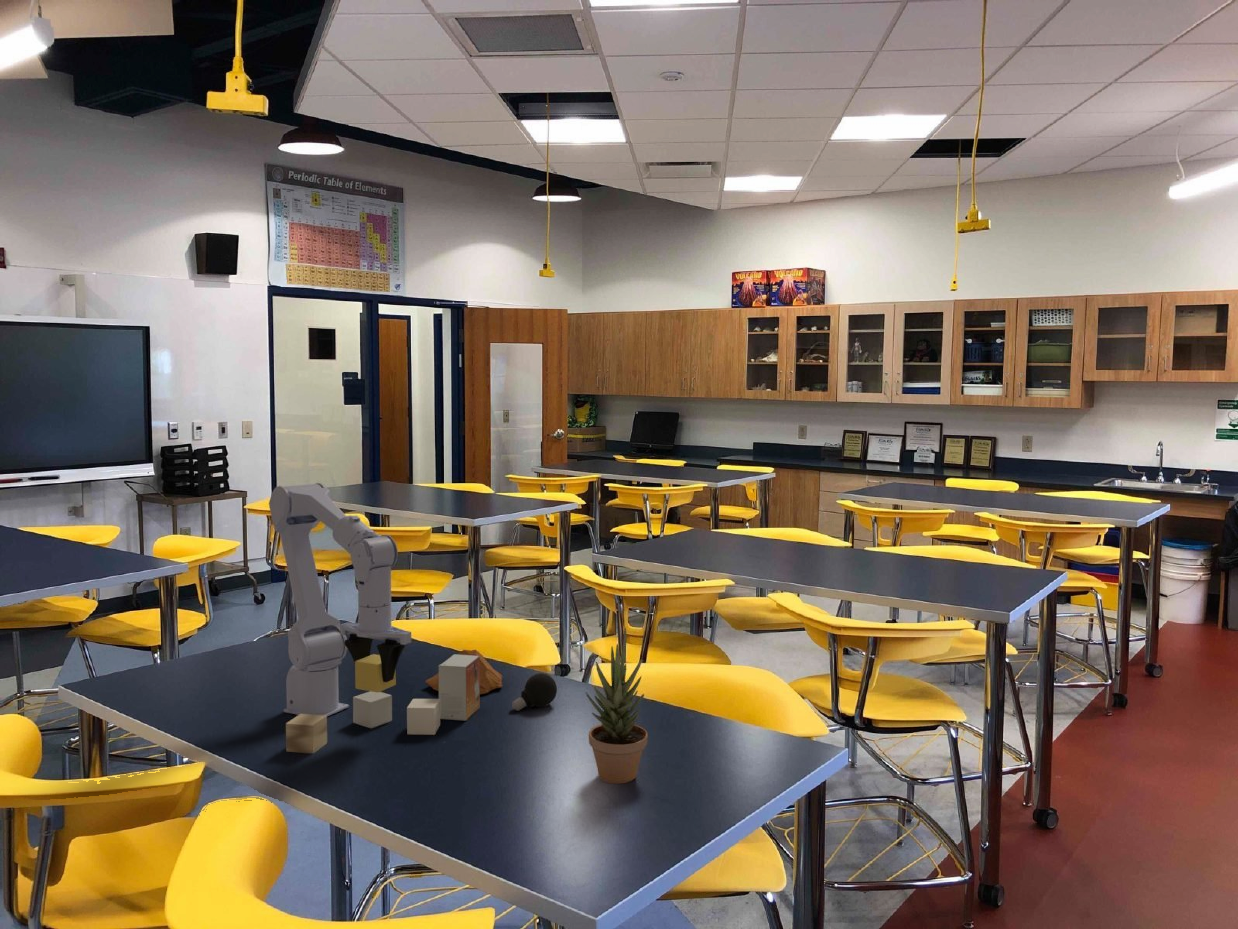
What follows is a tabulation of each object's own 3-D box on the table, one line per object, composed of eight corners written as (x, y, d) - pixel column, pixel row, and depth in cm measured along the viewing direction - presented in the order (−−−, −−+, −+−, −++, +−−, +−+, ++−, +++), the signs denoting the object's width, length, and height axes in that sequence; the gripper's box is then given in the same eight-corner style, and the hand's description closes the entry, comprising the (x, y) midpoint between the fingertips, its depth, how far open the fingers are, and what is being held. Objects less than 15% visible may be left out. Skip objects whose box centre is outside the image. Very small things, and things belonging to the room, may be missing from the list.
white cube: (407, 734, 172) (406, 707, 172) (413, 725, 177) (413, 698, 177) (434, 735, 172) (434, 708, 172) (440, 725, 177) (439, 699, 177)
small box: (466, 721, 179) (465, 667, 178) (438, 719, 180) (437, 665, 179) (480, 707, 187) (480, 655, 186) (453, 705, 188) (453, 653, 187)
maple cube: (286, 751, 164) (285, 723, 164) (300, 741, 169) (300, 713, 168) (313, 754, 163) (312, 725, 163) (327, 743, 168) (326, 715, 168)
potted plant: (627, 793, 148) (629, 638, 146) (577, 780, 153) (578, 629, 151) (659, 772, 157) (661, 624, 154) (610, 759, 162) (611, 616, 160)
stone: (513, 693, 204) (520, 657, 199) (469, 729, 192) (475, 691, 188) (461, 659, 210) (466, 624, 205) (414, 692, 198) (419, 655, 194)
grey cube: (353, 723, 178) (352, 697, 178) (374, 715, 182) (374, 690, 182) (371, 728, 175) (370, 702, 175) (392, 721, 179) (391, 695, 179)
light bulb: (500, 688, 186) (541, 662, 191) (506, 713, 189) (547, 686, 194) (518, 703, 181) (560, 676, 186) (525, 728, 184) (565, 700, 189)
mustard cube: (355, 688, 170) (355, 661, 170) (373, 680, 175) (373, 654, 174) (377, 692, 168) (377, 664, 168) (395, 684, 172) (395, 657, 172)
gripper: (327, 604, 169) (328, 678, 171) (393, 613, 163) (394, 690, 164) (354, 596, 176) (355, 668, 177) (418, 604, 170) (419, 679, 171)
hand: (375, 678), depth 171 cm, fingers closed on mustard cube, 5 cm apart
